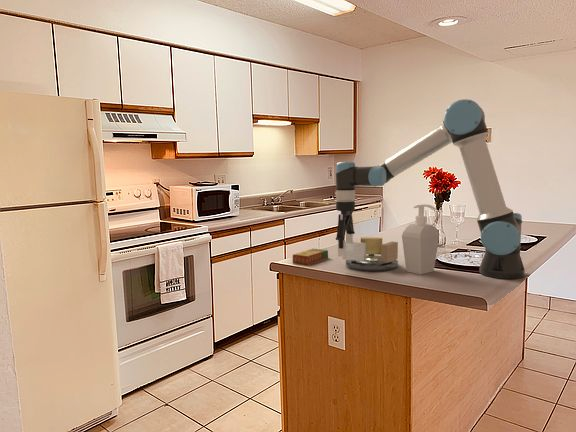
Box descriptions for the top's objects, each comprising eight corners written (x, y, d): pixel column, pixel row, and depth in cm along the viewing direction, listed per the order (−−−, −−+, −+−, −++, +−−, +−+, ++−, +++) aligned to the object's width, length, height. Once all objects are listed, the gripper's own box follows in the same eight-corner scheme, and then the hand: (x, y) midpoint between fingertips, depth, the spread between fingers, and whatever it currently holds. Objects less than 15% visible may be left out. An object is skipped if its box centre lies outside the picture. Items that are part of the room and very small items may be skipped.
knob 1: (365, 262, 179) (365, 243, 178) (364, 263, 177) (364, 244, 176) (344, 260, 183) (344, 241, 182) (342, 261, 181) (342, 242, 180)
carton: (292, 263, 190) (292, 253, 189) (312, 257, 203) (312, 247, 202) (308, 266, 185) (308, 255, 185) (328, 259, 198) (328, 249, 197)
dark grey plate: (405, 270, 174) (405, 263, 173) (353, 272, 171) (353, 265, 171) (387, 258, 194) (387, 252, 194) (340, 260, 192) (340, 254, 192)
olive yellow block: (382, 255, 191) (382, 237, 190) (382, 256, 188) (382, 238, 187) (360, 254, 192) (360, 237, 191) (360, 256, 190) (360, 238, 189)
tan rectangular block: (391, 260, 182) (391, 241, 181) (397, 260, 180) (397, 242, 179) (380, 264, 175) (381, 244, 174) (386, 265, 173) (387, 245, 172)
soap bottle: (423, 276, 164) (425, 206, 161) (401, 271, 172) (402, 205, 169) (442, 271, 172) (444, 204, 168) (420, 266, 179) (421, 202, 176)
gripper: (343, 197, 191) (343, 246, 194) (328, 203, 168) (328, 258, 170) (360, 198, 188) (360, 247, 191) (347, 203, 165) (347, 260, 168)
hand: (345, 253), depth 181 cm, fingers open, 13 cm apart
